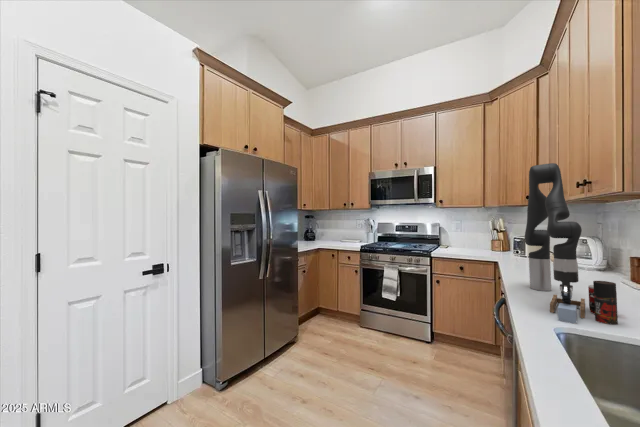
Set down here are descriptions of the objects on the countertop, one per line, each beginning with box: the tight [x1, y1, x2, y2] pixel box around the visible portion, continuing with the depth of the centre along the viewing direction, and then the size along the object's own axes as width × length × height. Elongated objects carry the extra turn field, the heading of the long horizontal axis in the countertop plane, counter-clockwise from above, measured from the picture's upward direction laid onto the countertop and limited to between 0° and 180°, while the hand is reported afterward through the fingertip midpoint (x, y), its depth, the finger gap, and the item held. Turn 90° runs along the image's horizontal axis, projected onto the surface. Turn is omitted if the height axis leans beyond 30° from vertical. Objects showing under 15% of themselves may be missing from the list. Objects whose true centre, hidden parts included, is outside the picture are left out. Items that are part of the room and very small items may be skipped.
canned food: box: [587, 284, 618, 315], centre depth 109 cm, size 8×8×11 cm
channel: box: [549, 294, 586, 319], centre depth 114 cm, size 19×10×4 cm, turn 134°
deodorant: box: [592, 280, 619, 325], centre depth 101 cm, size 6×6×15 cm
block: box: [557, 303, 578, 324], centre depth 104 cm, size 8×5×5 cm, turn 133°
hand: (567, 311), depth 109 cm, fingers closed
